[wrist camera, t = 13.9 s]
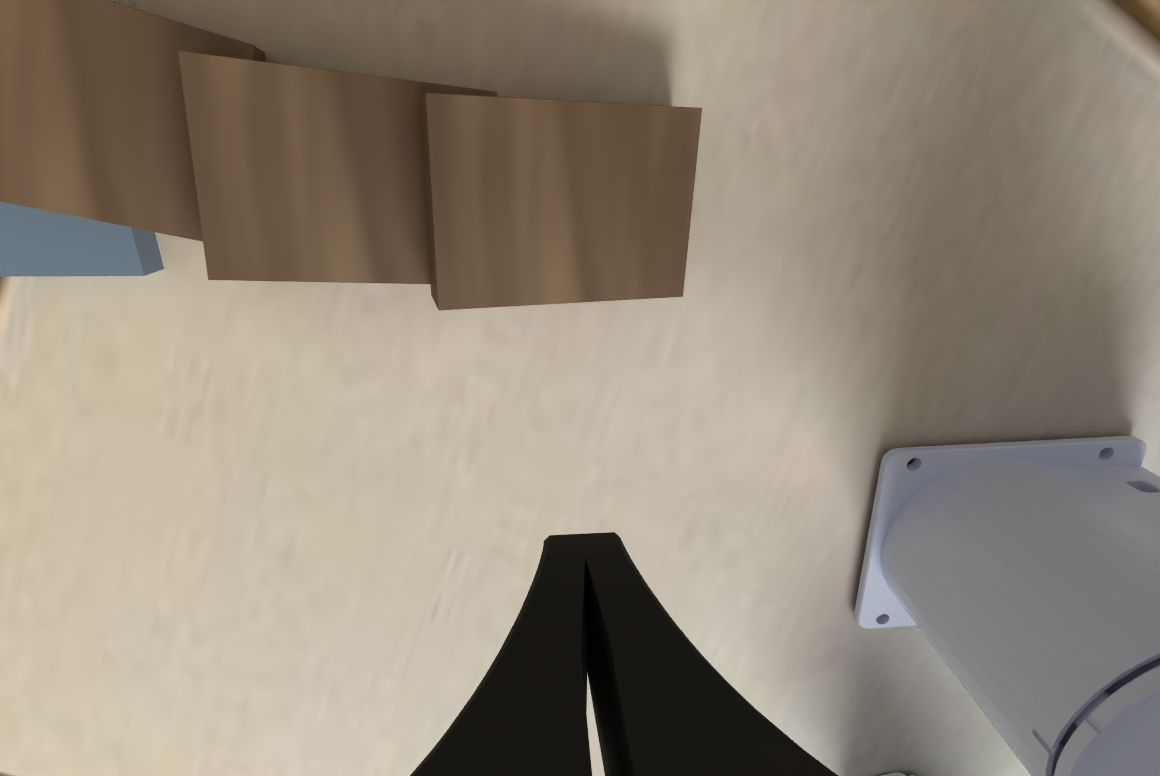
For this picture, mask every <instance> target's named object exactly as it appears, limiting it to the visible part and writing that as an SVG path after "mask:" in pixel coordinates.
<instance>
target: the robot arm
mask: <svg viewBox="0 0 1160 776" xmlns="http://www.w3.org/2000/svg"><path fill="white" fill-rule="evenodd" d="M1102 450H1103V451H1102ZM1101 451H1102V452H1101ZM1100 452H1101V453H1100ZM1145 452H1146V444H1145V442H1143V441H1142V440H1140V439H1138V438H1136V437H1134V436H1113V437H1094V438H1075V439H1056V440H1037V441H1018V442H999V443H980V444H961V445H942V446H923V447H904V448H894V449H891V450H890V451H888V452H887V453H886V454H885V455H884V456H883V458H882V461H881V466H880V471H879V477H878V482H877V488H876V493H875V499H874V505H873V510H872V516H871V521H870V527H869V533H868V538H867V544H866V549H865V555H864V560H863V566H862V572H861V577H860V583H859V588H858V594H857V600H856V605H855V611H854V619H855V620H856V622H857V623H858V625H859V626H860V627H862V628H865V629H873V628H888V627H904V626H918V627H919V629H920V630H921V631H922V633H923V634H924V635H925V637H926V638H927V639H928V641H929V642H930V643H931V644H932V646H933V647H934V648H935V650H936V651H937V652H938V654H939V655H940V656H941V658H942V659H943V660H944V662H945V663H946V664H947V665H948V667H949V668H950V669H951V671H952V672H953V673H954V675H955V676H956V677H957V679H958V680H959V681H960V682H961V684H962V685H963V686H964V688H965V689H966V690H967V692H968V693H969V694H970V696H971V697H972V698H973V700H974V701H975V702H976V703H977V705H978V706H979V707H980V709H981V710H982V711H983V713H984V714H985V715H986V717H987V718H988V719H989V721H990V722H991V723H992V724H993V726H994V727H995V728H996V730H997V731H998V732H999V734H1000V735H1001V736H1002V738H1003V739H1004V740H1005V741H1006V743H1007V744H1008V745H1009V747H1010V748H1011V749H1012V751H1013V752H1014V753H1015V755H1016V756H1017V757H1018V759H1019V760H1020V761H1021V762H1022V764H1023V765H1024V766H1025V768H1026V769H1027V770H1028V772H1029V773H1030V774H1031V776H1160V477H1159V476H1157V475H1156V474H1154V473H1152V472H1150V471H1148V470H1147V469H1145V468H1143V467H1141V463H1142V461H1143V458H1144V455H1145ZM912 458H915V460H914V462H913V463H912V464H910V465H907V463H908V461H909V460H911V459H912ZM881 614H882V615H881ZM879 615H881V616H879ZM878 616H879V617H878ZM587 672H588V678H589V684H590V690H591V696H592V702H593V708H594V713H595V719H596V725H597V731H598V737H599V743H600V749H601V754H602V760H603V766H604V772H605V776H838V775H836V774H835V773H834V772H832V771H831V770H830V769H828V768H827V767H826V766H824V765H823V764H822V763H820V762H819V761H818V760H816V759H815V758H814V757H812V756H811V755H810V754H808V753H807V752H806V751H805V750H803V749H802V748H801V747H800V746H798V745H797V744H796V743H795V742H794V741H793V740H791V739H790V738H789V737H788V736H787V735H786V734H784V733H783V732H782V731H781V730H780V729H778V728H777V727H776V726H775V725H774V724H773V723H771V722H770V721H769V720H768V719H767V718H766V717H764V716H763V715H762V714H761V713H760V712H758V711H757V710H756V709H755V708H754V707H753V706H752V705H751V704H750V703H749V702H748V701H747V700H746V699H744V698H743V697H742V696H741V695H740V694H739V693H738V692H737V691H736V690H735V689H734V688H733V687H732V686H731V685H730V684H729V683H728V682H727V681H726V680H725V679H724V678H723V677H722V676H721V675H720V674H719V673H718V672H717V671H716V670H715V669H714V668H713V667H712V665H711V664H710V663H709V662H708V661H707V660H706V659H705V658H704V657H703V656H702V654H701V653H700V652H699V651H698V650H697V649H696V648H695V646H694V645H693V644H692V643H691V642H690V641H689V639H688V638H687V637H686V636H685V634H684V633H683V632H682V631H681V630H680V628H679V627H678V626H677V625H676V623H675V622H674V621H673V620H672V618H671V617H670V616H669V614H668V613H667V612H666V610H665V609H664V608H663V606H662V605H661V603H660V602H659V601H658V599H657V598H656V596H655V595H654V594H653V592H652V591H651V589H650V588H649V587H648V585H647V584H646V582H645V581H644V579H643V577H642V576H641V574H640V573H639V571H638V569H637V568H636V566H635V565H634V563H633V561H632V560H631V558H630V556H629V554H628V552H627V551H626V549H625V547H624V545H623V543H622V541H621V538H620V537H619V536H618V535H617V534H616V533H615V532H612V533H591V534H570V535H550V536H549V537H548V538H547V539H546V540H544V546H543V551H542V555H541V559H540V562H539V566H538V569H537V571H536V574H535V577H534V580H533V582H532V585H531V587H530V590H529V592H528V594H527V597H526V599H525V601H524V604H523V606H522V608H521V610H520V613H519V615H518V617H517V619H516V621H515V623H514V625H513V627H512V629H511V630H510V632H509V634H508V636H507V638H506V640H505V642H504V644H503V646H502V648H501V650H500V651H499V653H498V655H497V657H496V658H495V660H494V662H493V663H492V665H491V667H490V668H489V670H488V672H487V673H486V675H485V677H484V678H483V680H482V681H481V683H480V684H479V686H478V687H477V689H476V690H475V692H474V694H473V695H472V697H471V698H470V699H469V701H468V702H467V704H466V705H465V706H464V708H463V709H462V711H461V712H460V713H459V715H458V716H457V718H456V719H455V720H454V722H453V723H452V725H451V726H450V727H449V729H448V730H447V731H446V733H445V734H444V735H443V737H442V738H441V739H440V741H439V742H438V743H437V744H436V746H435V747H434V748H433V749H432V751H431V752H430V753H429V754H428V755H427V756H426V758H425V759H424V760H423V761H422V762H421V763H420V765H419V766H418V767H417V768H416V769H415V771H414V772H413V773H412V774H411V775H410V776H592V770H591V760H590V749H589V739H588V728H587V716H586V706H587Z"/></svg>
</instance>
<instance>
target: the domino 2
mask: <svg viewBox="0 0 1160 776" xmlns="http://www.w3.org/2000/svg"><path fill="white" fill-rule="evenodd" d="M178 55H179V62H180V70H181V77H182V85H183V92H184V100H185V107H186V115H187V122H188V130H189V137H190V145H191V153H192V160H193V168H194V175H195V183H196V190H197V198H198V205H199V213H200V220H201V228H202V235H203V243H204V250H205V258H206V265H207V273H208V280H246V281H298V282H350V283H402V284H431V280H430V264H429V248H428V232H427V216H426V200H425V183H424V167H423V151H422V135H421V119H420V103H419V96H420V95H423V94H425V93H433V94H451V95H470V96H488V97H497V92H493V91H485V90H478V89H470V88H462V87H454V86H447V85H439V84H431V83H423V82H416V81H408V80H400V79H392V78H385V77H377V76H369V75H361V74H354V73H346V72H338V71H330V70H323V69H315V68H307V67H299V66H292V65H284V64H276V63H268V62H261V61H253V60H245V59H237V58H230V57H222V56H214V55H206V54H199V53H191V52H183V51H178Z"/></svg>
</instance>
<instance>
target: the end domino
mask: <svg viewBox="0 0 1160 776" xmlns="http://www.w3.org/2000/svg"><path fill="white" fill-rule="evenodd" d="M162 269H164V267H163V263H162V259H161V255H160V252H159V248H158V244H157V240H156V236H155V232H153V231H148V230H143V229H137V228H132V227H127V226H122V225H117V224H112V223H107V222H102V221H97V220H92V219H86V218H81V217H76V216H71V215H66V214H61V213H56V212H51V211H46V210H40V209H35V208H30V207H25V206H20V205H15V204H10V203H5V202H0V276H145V275H148V274H151V273H154V272H156V271H159V270H162Z"/></svg>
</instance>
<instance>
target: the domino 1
mask: <svg viewBox="0 0 1160 776" xmlns="http://www.w3.org/2000/svg"><path fill="white" fill-rule="evenodd" d="M178 51H183V52H191V53H199V54H206V55H214V56H222V57H230V58H237V59H245V60H253V61H261V62H264V53H265V52H263V51H262V50H260V49H259V48H257V47H255V46H254V45H251V44H248V43H244V42H241V41H238V40H235V39H231V38H228V37H225V36H222V35H218V34H215V33H212V32H209V31H205V30H202V29H199V28H196V27H192V26H189V25H186V24H183V23H179V22H176V21H173V20H170V19H166V18H163V17H160V16H157V15H153V14H150V13H147V12H144V11H140V10H137V9H134V8H131V7H127V6H124V5H121V4H118V3H114V2H111V1H108V0H0V202H5V203H10V204H15V205H20V206H25V207H30V208H35V209H40V210H46V211H51V212H56V213H61V214H66V215H71V216H76V217H81V218H86V219H92V220H97V221H102V222H107V223H112V224H117V225H122V226H127V227H132V228H137V229H143V230H148V231H153V232H158V233H163V234H168V235H173V236H178V237H183V238H188V239H194V240H199V241H203V235H202V228H201V220H200V213H199V205H198V198H197V190H196V183H195V175H194V168H193V160H192V153H191V145H190V137H189V130H188V122H187V115H186V107H185V100H184V92H183V85H182V77H181V70H180V62H179V55H178Z"/></svg>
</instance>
